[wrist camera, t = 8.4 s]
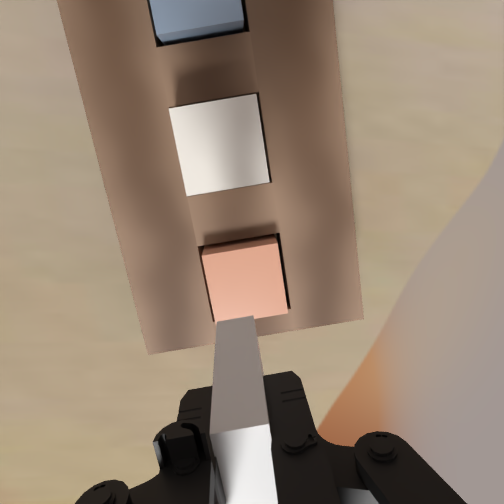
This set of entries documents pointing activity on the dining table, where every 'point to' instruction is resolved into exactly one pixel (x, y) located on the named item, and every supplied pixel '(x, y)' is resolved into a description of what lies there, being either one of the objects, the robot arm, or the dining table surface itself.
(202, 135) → the white key
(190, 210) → the key panel
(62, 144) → the dining table surface
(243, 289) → the terracotta key
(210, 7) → the slate blue key
